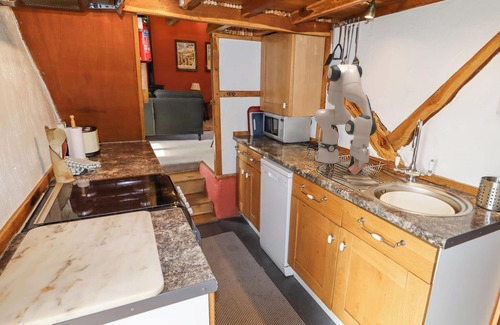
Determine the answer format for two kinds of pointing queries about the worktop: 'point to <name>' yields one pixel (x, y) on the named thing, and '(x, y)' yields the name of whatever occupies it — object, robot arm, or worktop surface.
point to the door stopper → (352, 164)
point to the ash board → (360, 180)
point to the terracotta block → (356, 168)
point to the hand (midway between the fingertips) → (357, 166)
